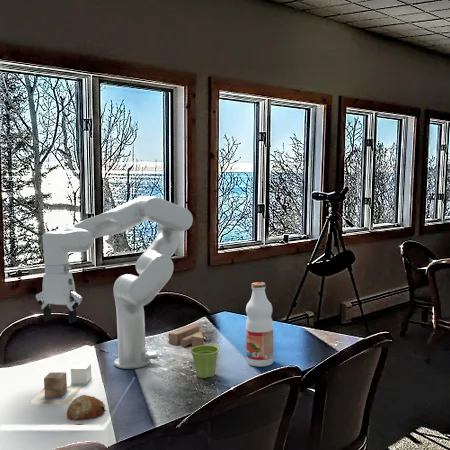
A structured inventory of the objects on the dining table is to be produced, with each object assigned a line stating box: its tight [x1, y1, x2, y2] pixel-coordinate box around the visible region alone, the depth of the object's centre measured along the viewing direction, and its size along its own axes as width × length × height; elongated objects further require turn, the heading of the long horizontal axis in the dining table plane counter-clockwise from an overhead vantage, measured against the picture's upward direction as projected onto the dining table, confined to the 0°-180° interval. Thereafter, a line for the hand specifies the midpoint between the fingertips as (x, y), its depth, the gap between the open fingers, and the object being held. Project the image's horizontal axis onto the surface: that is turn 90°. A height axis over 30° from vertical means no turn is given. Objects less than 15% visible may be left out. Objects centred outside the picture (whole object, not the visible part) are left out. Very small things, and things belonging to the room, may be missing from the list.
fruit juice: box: [245, 281, 275, 368], centre depth 200 cm, size 9×9×28 cm
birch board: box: [27, 385, 83, 405], centre depth 173 cm, size 12×14×1 cm
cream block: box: [70, 363, 92, 384], centre depth 185 cm, size 5×5×6 cm
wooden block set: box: [168, 323, 206, 348], centre depth 230 cm, size 17×6×18 cm
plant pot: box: [190, 344, 220, 379], centre depth 190 cm, size 9×9×9 cm
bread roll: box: [66, 394, 107, 426], centre depth 160 cm, size 10×10×8 cm
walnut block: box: [43, 371, 68, 398], centre depth 173 cm, size 5×5×6 cm
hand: (60, 321), depth 189 cm, fingers open, 9 cm apart
